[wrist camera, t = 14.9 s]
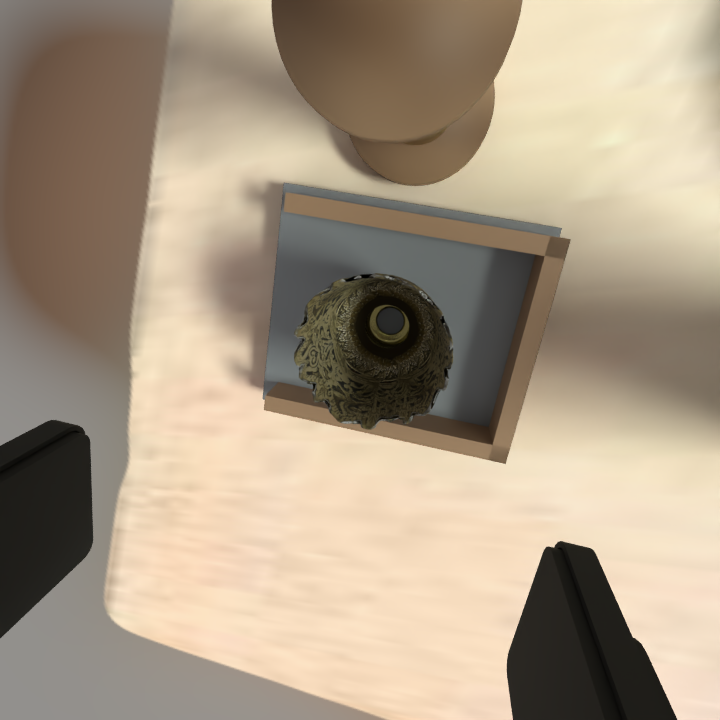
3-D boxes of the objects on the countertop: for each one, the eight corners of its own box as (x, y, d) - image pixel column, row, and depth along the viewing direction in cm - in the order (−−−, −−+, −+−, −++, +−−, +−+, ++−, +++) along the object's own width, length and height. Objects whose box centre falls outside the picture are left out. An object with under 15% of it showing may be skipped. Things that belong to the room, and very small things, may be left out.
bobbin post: (361, 20, 26) (268, -197, 12) (508, 38, 25) (584, -177, 11) (340, 174, 28) (244, 136, 15) (473, 195, 28) (501, 175, 14)
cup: (341, 382, 31) (307, 436, 23) (321, 269, 29) (277, 287, 21) (458, 371, 29) (461, 425, 22) (444, 251, 27) (444, 263, 20)
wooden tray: (291, 184, 29) (268, 179, 25) (555, 227, 27) (573, 229, 23) (270, 391, 33) (248, 413, 30) (496, 440, 32) (503, 471, 28)
